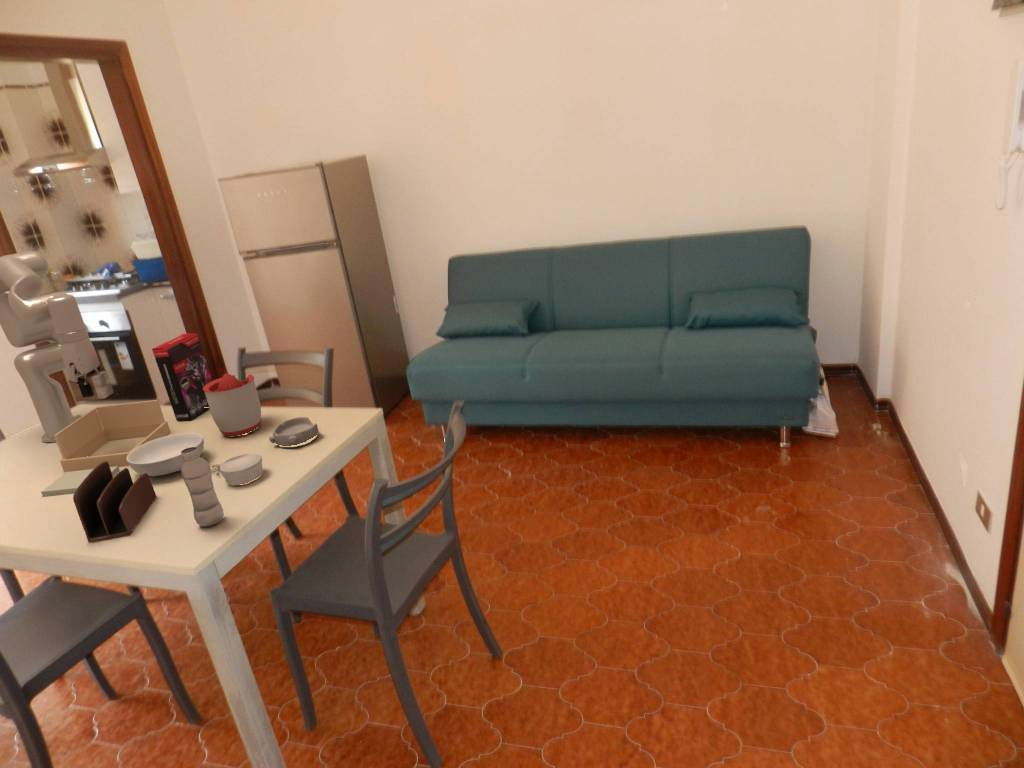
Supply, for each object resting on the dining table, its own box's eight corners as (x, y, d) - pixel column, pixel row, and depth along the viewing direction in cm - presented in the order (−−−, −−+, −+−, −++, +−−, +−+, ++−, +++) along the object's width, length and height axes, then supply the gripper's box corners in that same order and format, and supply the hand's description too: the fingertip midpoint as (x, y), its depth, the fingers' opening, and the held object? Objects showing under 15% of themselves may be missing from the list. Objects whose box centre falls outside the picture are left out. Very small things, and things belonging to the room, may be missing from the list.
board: (68, 476, 208) (66, 472, 207) (119, 470, 207) (118, 466, 206) (42, 496, 196) (40, 491, 196) (97, 490, 196) (95, 485, 195)
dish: (302, 427, 222) (298, 413, 220) (330, 434, 214) (326, 419, 212) (264, 446, 211) (260, 431, 210) (292, 454, 203) (288, 439, 202)
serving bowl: (224, 453, 210) (218, 432, 208) (172, 487, 192) (164, 465, 189) (171, 450, 217) (165, 430, 215) (116, 483, 199) (109, 461, 197)
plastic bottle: (202, 518, 173) (179, 446, 166) (229, 514, 173) (207, 442, 166) (193, 532, 167) (169, 458, 160) (221, 527, 167) (198, 453, 160)
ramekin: (255, 465, 199) (250, 449, 197) (273, 475, 191) (268, 458, 189) (217, 481, 192) (212, 464, 190) (234, 492, 184) (229, 475, 182)
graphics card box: (191, 421, 239) (168, 347, 230) (174, 422, 241) (150, 348, 232) (220, 402, 255) (199, 332, 246) (203, 403, 257) (182, 333, 247)
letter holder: (88, 543, 168) (68, 493, 163) (119, 503, 186) (102, 457, 182) (130, 536, 169) (112, 485, 164) (157, 497, 187) (141, 450, 183)
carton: (107, 439, 233) (95, 406, 229) (170, 432, 232) (160, 399, 228) (64, 472, 210) (50, 437, 206) (134, 464, 210) (121, 429, 205)
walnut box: (85, 395, 214) (77, 374, 212) (113, 392, 214) (106, 371, 212) (76, 401, 210) (68, 380, 207) (105, 398, 210) (97, 376, 207)
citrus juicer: (278, 418, 232) (264, 362, 225) (249, 440, 217) (232, 381, 210) (238, 418, 236) (223, 364, 229) (206, 441, 221) (189, 383, 214)
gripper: (77, 330, 213) (97, 384, 220) (43, 346, 197) (65, 405, 204) (101, 327, 213) (120, 382, 219) (69, 343, 197) (90, 401, 203)
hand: (93, 392), depth 211 cm, fingers closed on walnut box, 5 cm apart
